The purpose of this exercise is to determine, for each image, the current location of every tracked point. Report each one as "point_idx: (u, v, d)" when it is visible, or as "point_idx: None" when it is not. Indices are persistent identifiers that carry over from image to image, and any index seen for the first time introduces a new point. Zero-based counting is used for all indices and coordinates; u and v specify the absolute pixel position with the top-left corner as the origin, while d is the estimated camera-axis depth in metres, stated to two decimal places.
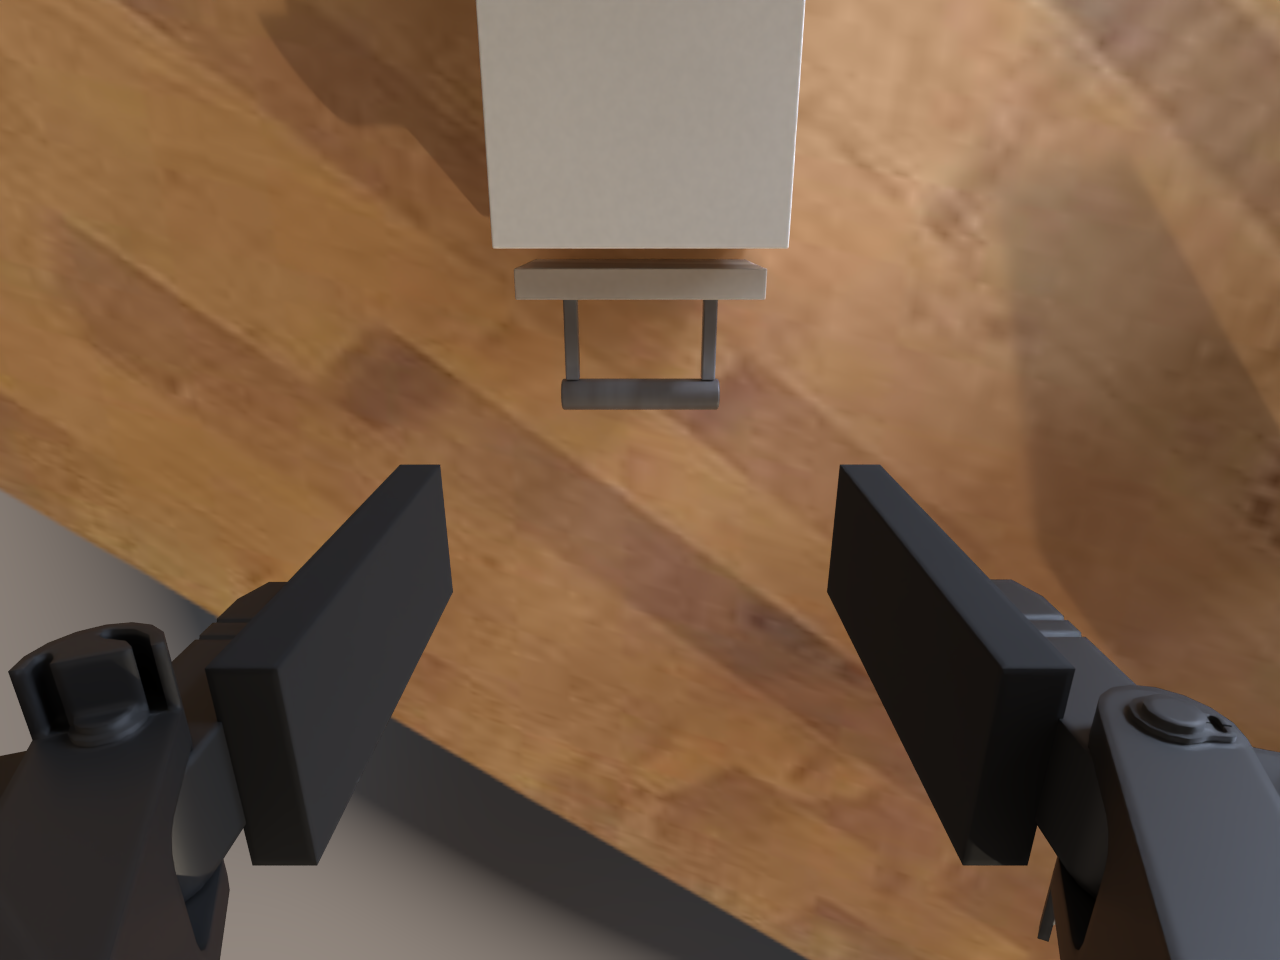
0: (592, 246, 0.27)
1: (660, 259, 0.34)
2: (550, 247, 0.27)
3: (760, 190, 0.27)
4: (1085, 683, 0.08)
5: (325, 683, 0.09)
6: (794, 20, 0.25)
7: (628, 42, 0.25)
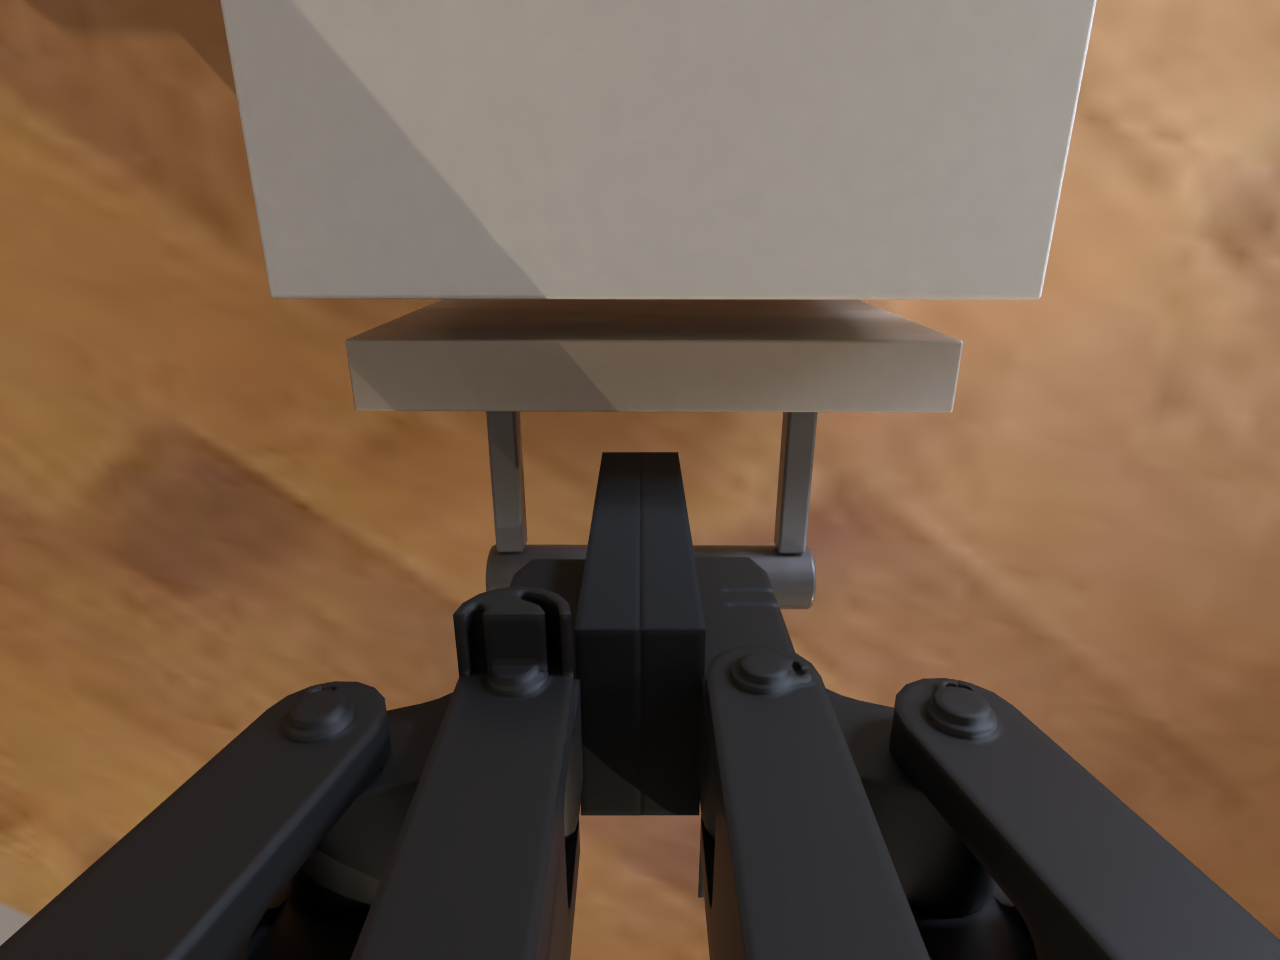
0: (529, 294, 0.10)
1: (690, 299, 0.17)
2: (420, 296, 0.10)
3: (983, 145, 0.10)
4: None
5: None
6: None
7: None
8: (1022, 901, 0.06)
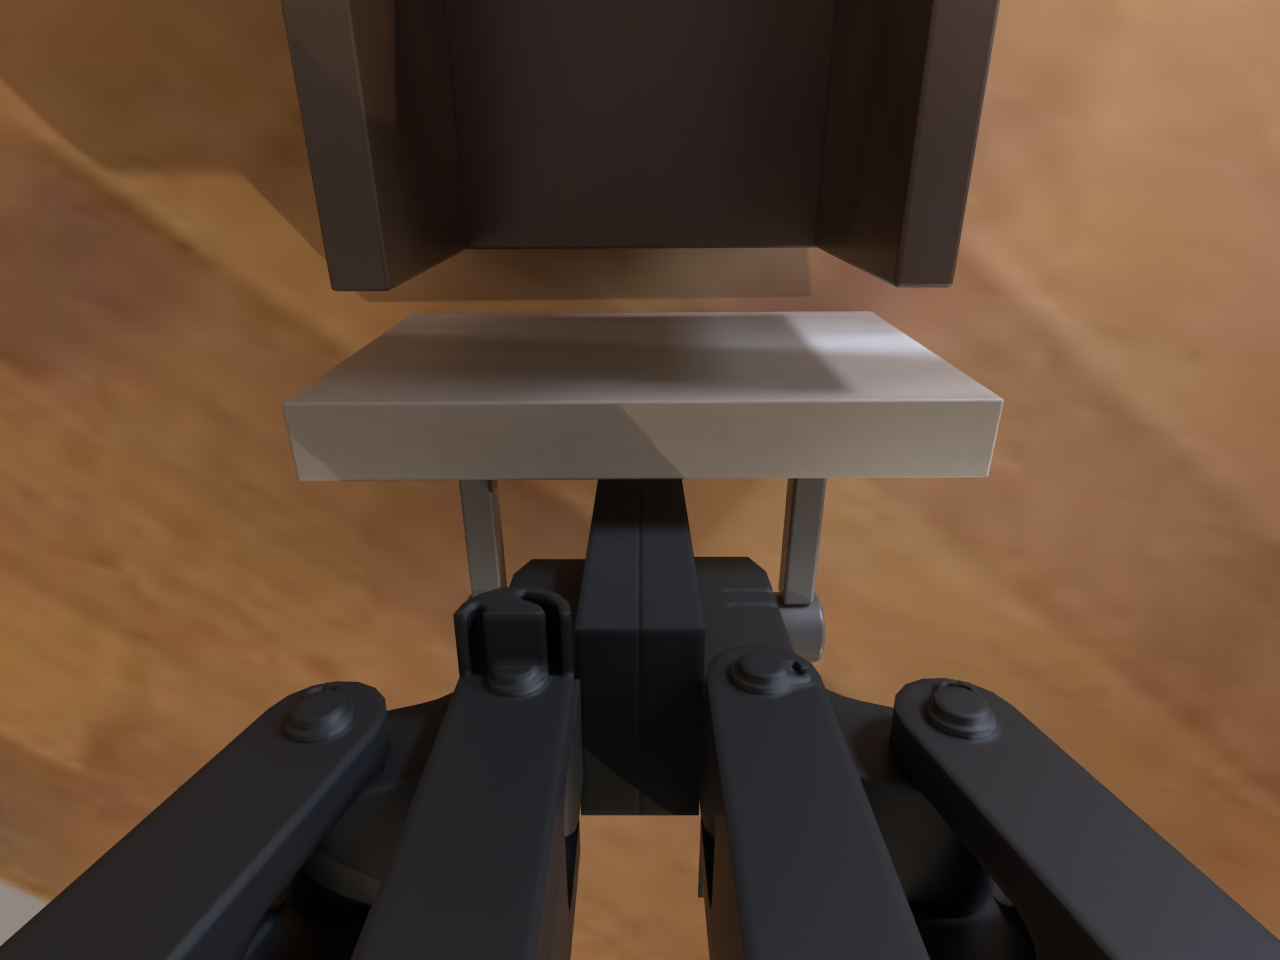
0: None
1: (685, 314, 0.15)
2: None
3: None
4: None
5: None
6: None
7: None
8: (1022, 900, 0.06)
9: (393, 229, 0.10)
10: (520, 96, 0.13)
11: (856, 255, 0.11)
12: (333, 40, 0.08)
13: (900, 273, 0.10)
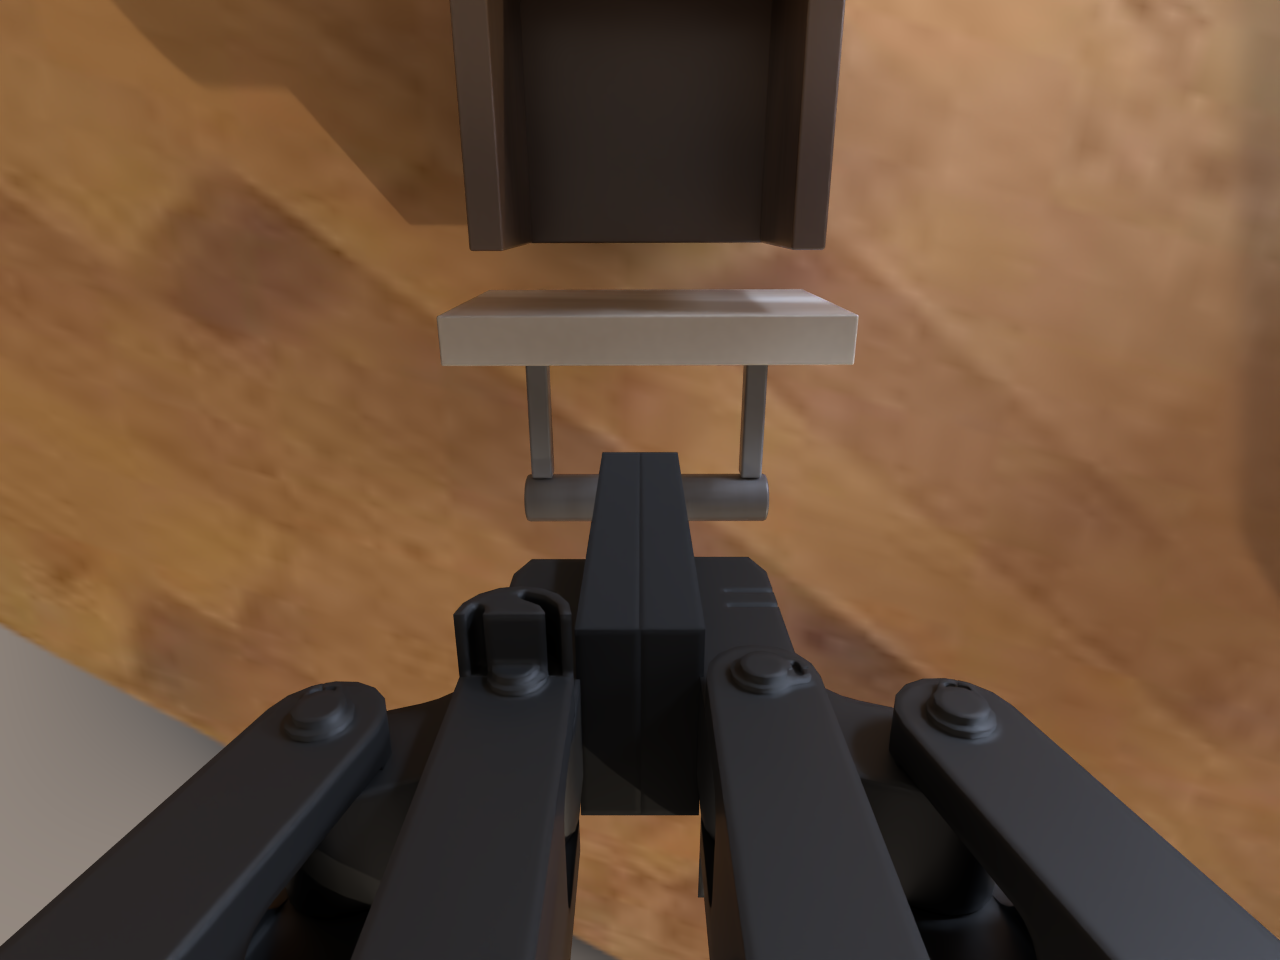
0: None
1: (675, 290, 0.23)
2: None
3: None
4: None
5: None
6: None
7: None
8: (1022, 901, 0.06)
9: (505, 217, 0.17)
10: (569, 145, 0.20)
11: (777, 238, 0.19)
12: (483, 113, 0.16)
13: (794, 241, 0.17)
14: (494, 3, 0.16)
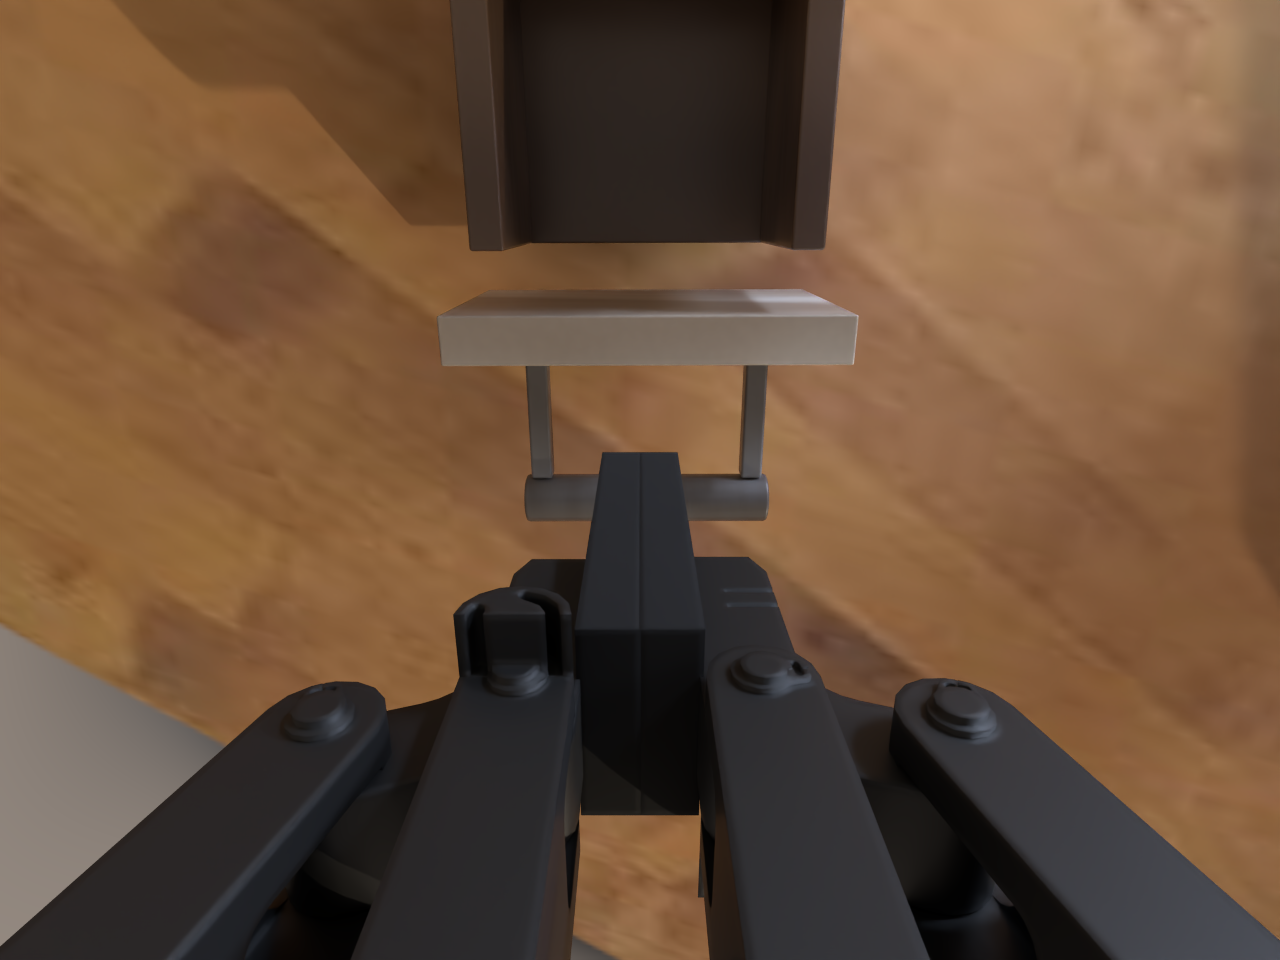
0: None
1: (675, 290, 0.23)
2: None
3: None
4: None
5: None
6: None
7: None
8: (1022, 901, 0.06)
9: (505, 217, 0.17)
10: (569, 145, 0.20)
11: (777, 238, 0.19)
12: (483, 113, 0.16)
13: (794, 241, 0.17)
14: (494, 3, 0.16)
